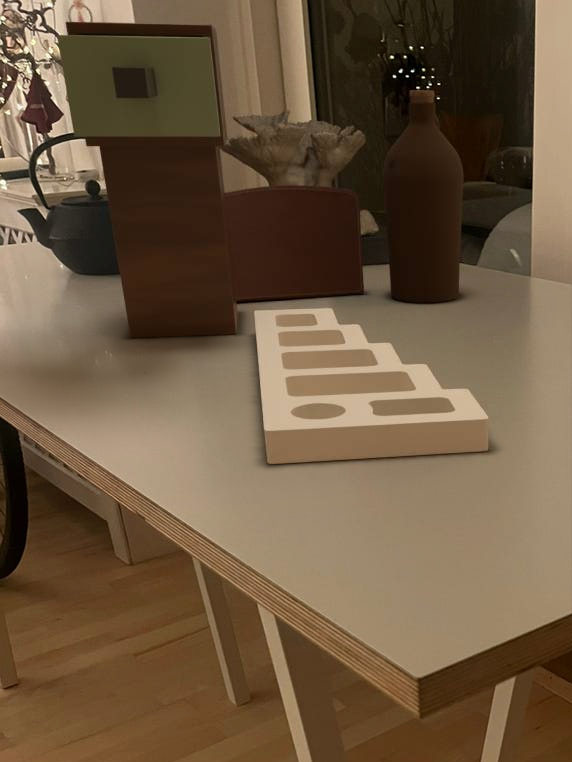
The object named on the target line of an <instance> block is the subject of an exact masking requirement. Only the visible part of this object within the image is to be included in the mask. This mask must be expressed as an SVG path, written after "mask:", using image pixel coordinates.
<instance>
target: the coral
mask: <svg viewBox="0 0 572 762" xmlns="http://www.w3.org/2000/svg"><path fill="white" fill-rule="evenodd" d="M290 114H291V111H290V110H289V109H286V110H285V109H284V110H283V111H282V112H280V113H278V114H275V115H272V116H271V115H266V114H264V115H260V114H259V115H256V114H251V115H243V116H235V115H234V116H232V120H233V121H234V122H236V123H237V124H238V125H240V126H241V127H243V128H244V129H246V130H247V131H250V132H252V133H254V134H256V136H255V135H252V136H249V137H248V136H243V135H242V134H241V133H240V134H238V135H236V136H235V137H231V138H230V137H227V140H226V143H225V146H220V151H222V152H223V153H225V154H228V155H229V156H232V157H233V158H235V159H236V160H238V161H239V162H241V163H242V164H244V165H245V166H246V167H248V168H251V169H253V171H255V172H256V173H258V174H259V175H260V176H262V177H263V178H264V179H265V180H266V182H267V184H268V186H279V185H304V186H323V187H333V186H332V185H333V184H332V183H333V180H334V179H335V177H336V176H337V175H338V174H339V173H340V172H341V171H342V170H344V169H345V167H346V166H347V165H348V164H349V163H350V162H351V161H352V159H353V158H354V156H355V155H356V154H357V153H358V152H359V150H360V149H361V148H362V147H363V146H364V145H365V144H366V135H365V134H364V133H363V132H362V131H361V130H360V129H357V130H356V131H355V126H354V125H349V126H346V127H345V128H344V129H342V128H341V127H340V126H338V125H333V124H331V123H329V122H327V121H325V120H319V121H318V120H316V119H309V120H308V121H304V122H302V121H297V122H287V120H288V118H289V116H290ZM354 131H355V132H354ZM351 134H352V135H351ZM360 222H361V247H362V265H363V266H366V265H369V266H370V265H384V264H389V252H388V239H387V236H383V235H382V234H379V230H380V228H379V226H378V224H377V222H376V220H375V218H374V216H373V215H372V214H371V213H370V211H369V210H368V209H360Z"/></svg>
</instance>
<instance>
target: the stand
mask: <svg viewBox="0 0 572 762" xmlns="http://www.w3.org/2000/svg"><path fill="white" fill-rule="evenodd" d="M65 28H66V33H67V35H84V36H141V37H198V38H210V43H211V52H212V61H213V70H214V80H215V89H216V98H217V108H218V117H219V126H220V137H151V136H84V140H85V146H86V147H99V155H100V158H101V166H102V171H103V177H104V178H103V179H104V184H105V190H106V196H107V202H108V208H109V215H110V220H111V226H112V227H111V228H112V234H113V238H114V246H115V251H116V257H117V263H118V269H119V270H118V271H119V276H120V282H121V288H122V289H121V290H122V295H123V300H124V306H125V311H126V313H125V314H126V321H127V325H128V331H129V337H130V338H132V339H137V338H166V337H192V336H193V337H195V336H197V337H199V336H224V335H225V336H227V335H228V336H229V335H237V330H238V315H239V314H238V313H239V312H238V304H237V303H238V302H236V292H235V283H234V274H233V265H232V256H231V246H230V237H229V228H228V219H227V210H226V200H225V193H226V192H225V191H226V190H225V182H224V174H223V165H222V163H223V162H222V156H221V155H222V153H221V149H220V146H225V143H226V140H227V138H228V131H227V121H226V112H225V101H224V100H225V99H224V92H223V84H222V83H223V81H222V74H221V62H220V55H219V53H220V52H219V43H218V35H217V29H216V28H215V27H214V26H213V25H212V24H205V23H204V24H203V23H162V22H161V23H159V22H158V23H157V22H156V23H153V22H109V21H107V22H106V21H105V22H104V21H103V22H102V21H65Z"/></svg>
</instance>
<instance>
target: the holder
mask: <svg viewBox="0 0 572 762" xmlns="http://www.w3.org/2000/svg"><path fill="white" fill-rule="evenodd" d="M253 314H254V315H253V316H254V322H255V323H254V325H255V327H254V328H255V338H256V349H257V362H258V373H259V383H260V397H261V409H262V419H263V421H262V422H263V432H264V443H265V451H266V452H265V453H266V462H267V464H269V465H278V464H280V465H281V464H294V463H309V462H313V463H314V462H329V461H343V460H360V459H373V458H374V459H378V458H393V457H409V456H410V457H411V456H412V457H413V456H426V455H427V456H428V455H443V454H444V455H445V454H460V453H475V452H486V451H488V450H489V422H490V421H489V416H488V415H487V413H486V412H485V410H484V409H483V408H482V406H481V405H480V404H479V402H478V400H477V399H476V398H475V396H474V395H473V393H472V392H471V391H470V390H469V389H468V388H449V389H446V388H443V387H442V386H441V385H440V383H439V382H438V380H437V378H436V377H435V376H434V374H433V372H432V371H431V369H430V368H429V366H428V365H427V364H426V363H413V364H411V363H410V364H405V363H403V362H402V360H401V359H400V357H399V355H398V354H397V352H396V351H395V348H394V347H393V345H392V343H390V342H369V341H368V339H367V337H366V335H365V333H364V331H363V329H362V327H361V325H360V324H356V323H353V324H340V323H339V321H338V320H337V317H336V315H335V313H334V310H333V308H331V307H324V308H323V307H322V308H321V307H320V308H296V309H295V308H293V309H291V308H290V309H266V310H265V309H264V310H263V309H261V310H259V309H258V310H254V312H253Z"/></svg>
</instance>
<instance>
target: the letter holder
mask: <svg viewBox="0 0 572 762" xmlns="http://www.w3.org/2000/svg"><path fill="white" fill-rule="evenodd" d="M225 200H226V210H227V219H228V228H229V237H230V246H231V256H232V265H233V274H234V283H235V292H236V302H237V303H243V302H245V303H247V302H259V301H273V300H274V301H275V300H288V299H290V300H291V299H305V298H309V299H310V298H321V297H338V296H350V295H352V296H353V295H364V291H365V285H364V269H363V268H364V265H362V247H361V222H360V210H361V204H360V199H359V196H358V195H357V193H356V192H355V191H354V190H352V189H346V188H342V187H334V186H332V187H323V186H304V185H279V186H269V185H268V186H267V185H266V186H258V187H249V188H243V189H238V190H237V189H236V190H232V191H227V192H225Z"/></svg>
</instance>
